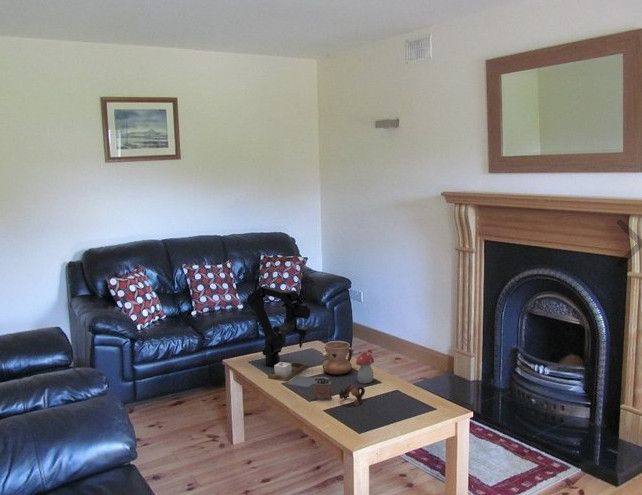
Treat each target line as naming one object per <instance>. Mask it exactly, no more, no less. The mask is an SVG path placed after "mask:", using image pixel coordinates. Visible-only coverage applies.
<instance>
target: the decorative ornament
mask: <svg viewBox="0 0 642 495" xmlns="http://www.w3.org/2000/svg"><path fill="white" fill-rule="evenodd" d="M372 353H373V350H372V349H367V352H363V353H361V354H360V355H358V357H357V358H356V361H355V364H356V365H357V366H360V367H359V369H358V370H357V376H356V380H357V383H358V384H365V385H366V384H369V383H372V382H373V380H374V379H373V378H374V370H373V368H372V366H371V365H372V364H373V363H375V359H374V357H373V355H372Z"/></svg>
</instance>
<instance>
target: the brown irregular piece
mask: <svg viewBox="0 0 642 495" xmlns="http://www.w3.org/2000/svg"><path fill="white" fill-rule="evenodd" d="M365 389H366V388H365V387H363V386H358V387H354V385H353V384H352V385H349V386H348V387H345V388H344V390H343V389H342V390H341V391H339V392H338V395H339V396H338V398H339V399H341V400H343V399H344V400H346V399H348V398H350V393H351V395H352V396H354V397H355V398H356V400H355V401H353V404H354V407H358V406H360V405H361V404H362V403H363V396H364V395H365V393H366V390H365ZM360 390H361V391H360Z"/></svg>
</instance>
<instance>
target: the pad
mask: <svg viewBox="0 0 642 495" xmlns="http://www.w3.org/2000/svg"><path fill="white" fill-rule="evenodd" d="M313 382H317V381H315V377H311V376H305V375H299V374H298V375H296V376H295V377H293V378H292V379H290V380H289V381H286V382H285V384H286V385H292V386H298V387H304V388H310V387H311V386H312V385H313Z"/></svg>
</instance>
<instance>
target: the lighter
mask: <svg viewBox="0 0 642 495" xmlns="http://www.w3.org/2000/svg"><path fill="white" fill-rule="evenodd" d="M314 378H315V381H316V382H313V384H312V385H313V400H314V401H321V402H323V401H324V402H325V401H331V400H333V398H332V397H333V396H332V382H331V381H330V380H329V377H325V376H321V377H320V376H315V377H314Z"/></svg>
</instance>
